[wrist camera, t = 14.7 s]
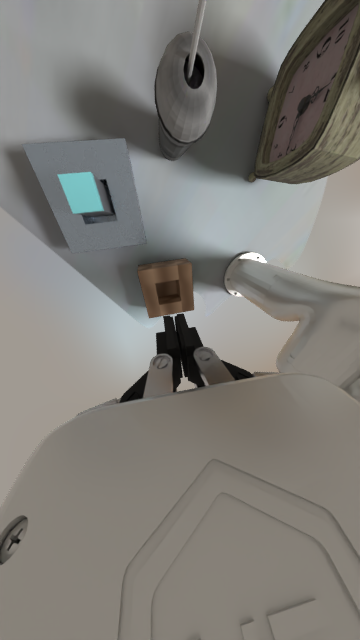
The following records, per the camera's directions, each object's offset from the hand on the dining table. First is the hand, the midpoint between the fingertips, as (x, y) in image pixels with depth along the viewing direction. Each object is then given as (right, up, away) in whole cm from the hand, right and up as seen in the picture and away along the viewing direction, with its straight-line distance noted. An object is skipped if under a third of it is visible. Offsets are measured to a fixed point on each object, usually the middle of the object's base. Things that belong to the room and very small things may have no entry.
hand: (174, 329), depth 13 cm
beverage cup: (-1, +33, +15) cm, 36 cm away
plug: (-15, +23, +16) cm, 32 cm away
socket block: (-15, +24, +18) cm, 33 cm away
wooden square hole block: (-3, +10, +28) cm, 30 cm away
